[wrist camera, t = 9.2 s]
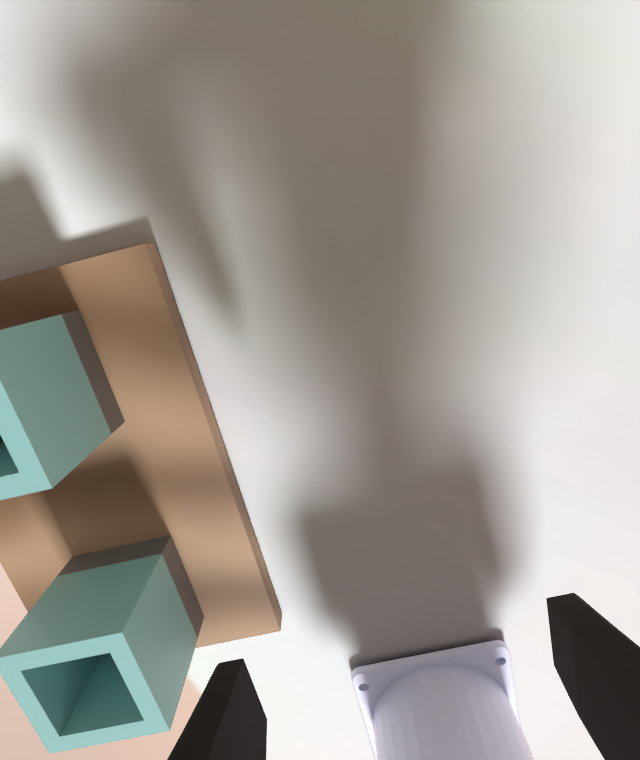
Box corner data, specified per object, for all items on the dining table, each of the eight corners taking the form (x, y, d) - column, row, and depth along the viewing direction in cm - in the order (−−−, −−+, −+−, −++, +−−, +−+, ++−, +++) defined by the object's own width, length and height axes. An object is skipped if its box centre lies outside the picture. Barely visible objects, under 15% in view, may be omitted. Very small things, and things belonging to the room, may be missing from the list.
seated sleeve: (204, 616, 20) (169, 730, 15) (111, 635, 21) (49, 753, 16) (171, 534, 19) (122, 632, 14) (72, 556, 19) (-9, 659, 14)
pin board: (282, 613, 21) (275, 681, 18) (73, 656, 22) (30, 729, 19) (155, 243, 16) (113, 242, 13) (-111, 313, 17) (-215, 330, 14)
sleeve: (125, 421, 17) (52, 488, 13) (18, 447, 18) (-93, 521, 13) (79, 309, 16) (-22, 336, 11) (-36, 338, 16) (-181, 376, 12)
